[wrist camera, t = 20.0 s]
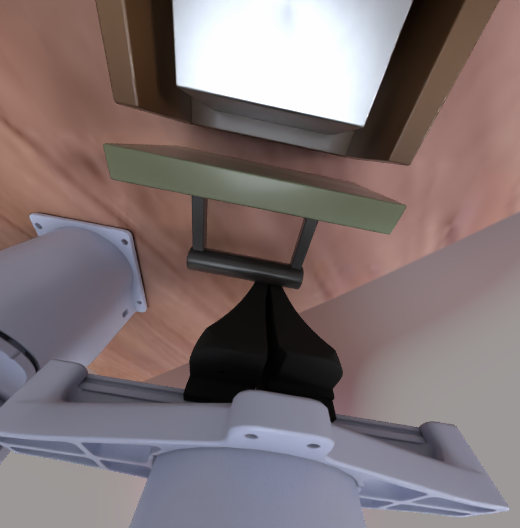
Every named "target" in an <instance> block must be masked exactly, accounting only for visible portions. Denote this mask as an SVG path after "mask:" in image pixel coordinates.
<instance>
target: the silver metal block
mask: <svg viewBox="0 0 520 528" xmlns="http://www.w3.org/2000/svg"><path fill="white" fill-rule="evenodd" d="M412 2H413V0H172V17H173V38H174V58H175V78H176V86H177V87H178V88H179V89H181V90H182V91H184V92H185V93H187V94H189V95H190V96H192V97H193V98H195V99H196V100H198V101H200V102H201V103H203V104H204V105H206V106H207V107H209V108H211V109H213V110H217V111H222V112H226V113H231V114H236V115H240V116H245V117H249V118H254V119H259V120H263V121H268V122H272V123H277V124H282V125H286V126H291V127H295V128H300V129H305V130H309V131H314V132H319V133H323V134H328V135H335V134H340V133H344V132H348V131H352V130H356V129H360V128H363V127H364V126H365V123H366V121H367V118H368V116H369V113H370V110H371V108H372V105H373V103H374V100H375V98H376V95H377V92H378V90H379V87H380V85H381V82H382V79H383V77H384V74H385V72H386V69H387V67H388V64H389V61H390V59H391V56H392V54H393V51H394V49H395V46H396V43H397V41H398V38H399V36H400V33H401V31H402V28H403V25H404V23H405V20H406V18H407V15H408V12H409V10H410V7H411V5H412Z"/></svg>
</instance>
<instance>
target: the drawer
mask: <svg viewBox="0 0 520 528" xmlns="http://www.w3.org/2000/svg"><path fill="white" fill-rule="evenodd" d="M95 1H96V6H97V12H98V17H99V22H100V28H101V33H102V38H103V44H104V49H105V54H106V60H107V65H108V70H109V76H110V81H111V86H112V92H113V97H114V101H115V102H116V103H117V104H120V105H124V106H127V107H131V108H134V109H138V110H141V111H144V112H148V113H151V114H155V115H158V116H162V117H165V118H169V119H172V120H175V121H179V122H182V123H187V124H191V125H196V126H201V127H205V128H210V129H215V130H219V131H224V132H229V133H234V134H238V135H243V136H248V137H252V138H257V139H262V140H266V141H271V142H276V143H281V144H285V145H290V146H295V147H299V148H304V149H309V150H313V151H318V152H323V153H328V154H332V155H337V156H342V157H346V158H351V159H358V160H366V161H374V162H382V163H390V164H398V165H406V166H409V165H410V164H411V162H412V160H413V159H414V157H415V155H416V153H417V151H418V149H419V147H420V146H421V144H422V142H423V140H424V138H425V136H426V135H427V133H428V131H429V129H430V127H431V125H432V124H433V122H434V120H435V118H436V116H437V114H438V113H439V111H440V109H441V107H442V105H443V103H444V102H445V100H446V98H447V96H448V94H449V92H450V91H451V89H452V87H453V85H454V83H455V81H456V79H457V78H458V76H459V74H460V72H461V70H462V68H463V67H464V65H465V63H466V61H467V59H468V57H469V56H470V54H471V52H472V50H473V48H474V46H475V45H476V43H477V41H478V39H479V37H480V35H481V34H482V32H483V30H484V28H485V26H486V24H487V23H488V21H489V19H490V17H491V15H492V13H493V11H494V10H495V8H496V6H497V4H498V2H499V0H413V2H412V5H411V7H410V10H409V12H408V15H407V18H406V20H405V23H404V25H403V28H402V31H401V33H400V36H399V38H398V41H397V43H396V46H395V49H394V51H393V54H392V56H391V59H390V61H389V64H388V67H387V69H386V72H385V74H384V77H383V79H382V82H381V85H380V87H379V90H378V92H377V95H376V98H375V100H374V103H373V105H372V108H371V110H370V113H369V116H368V118H367V121H366V123H365V126H364V127H363V128H360V129H356V130H352V131H348V132H344V133H340V134H335V135H328V134H323V133H319V132H314V131H309V130H305V129H300V128H295V127H291V126H286V125H282V124H277V123H272V122H268V121H263V120H259V119H254V118H249V117H245V116H240V115H236V114H231V113H226V112H222V111H217V110H213V109H211V108H209V107H207V106H206V105H204V104H203V103H201V102H200V101H198V100H196V99H195V98H193V97H192V96H190V95H189V94H187V93H185V92H184V91H182V90H181V89H179V88H178V87H177V86H176V78H175V58H174V38H173V17H172V0H95ZM103 147H104V151H105V155H106V160H107V164H108V168H109V172H110V177H111V179H113V180H117V181H122V182H127V183H132V184H137V185H142V186H147V187H152V188H158V189H163V190H168V191H173V192H178V193H183V194H188V195H192V235H193V246H192V247H191V248H190V250H189V253H188V256H187V267H188V269H190V270H196V271H201V272H206V273H212V274H217V275H223V276H228V277H234V278H239V279H244V280H250V281H255V282H261V283H266V284H271V285H277V286H282V287H288V288H293V289H299V288H300V286H301V284H302V281H303V274H304V271H303V267H302V265H303V262H304V259H305V256H306V254H307V251H308V248H309V245H310V242H311V240H312V237H313V234H314V231H315V228H316V226H317V223H318V221H323V222H328V223H333V224H338V225H343V226H349V227H354V228H359V229H364V230H369V231H374V232H379V233H384V234H390V233H391V232H392V230H393V229H394V227H395V225H396V224H397V222H398V220H399V219H400V217H401V215H402V214H403V212H404V210H405V209H406V205H404V204H402V203H399V202H397V201H395V200H392V199H390V198H388V197H385V196H383V195H381V194H378V193H376V192H374V191H371V190H369V189H367V188H364V187H362V186H360V185H357V184H355V183H353V182H348V181H343V180H339V179H334V178H329V177H324V176H319V175H315V174H310V173H305V172H300V171H295V170H291V169H286V168H281V167H276V166H271V165H267V164H262V163H257V162H252V161H247V160H242V159H238V158H233V157H228V156H223V155H218V154H214V153H209V152H204V151H199V150H194V149H190V148H185V147H180V146H168V145H140V144H112V143H105V144H103ZM208 199H213V200H218V201H223V202H228V203H233V204H238V205H243V206H248V207H253V208H258V209H263V210H268V211H273V212H278V213H283V214H288V215H293V216H298V217H303V218H304V220H303V223H302V226H301V229H300V232H299V236H298V239H297V242H296V245H295V248H294V252H293V255H292V258H291V261H290V264H288V263H283V262H278V261H272V260H267V259H262V258H257V257H251V256H246V255H241V254H235V253H230V252H225V251H220V250H214V249H209V248H206V244H207V203H208Z"/></svg>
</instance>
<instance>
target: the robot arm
mask: <svg viewBox="0 0 520 528" xmlns="http://www.w3.org/2000/svg"><path fill="white" fill-rule="evenodd" d="M29 217H30V220H31V222H32V224H33V226H34V228H35V230H36V232H37V234H38V237H36V238H33V239H30V240H28V241H25V242H22V243H19V244H17V245H14V246H11V247H9V248H6V249H3V250H0V464H1V463H2V461H3V460H4V459H5V457H6V456H7V455H8V454H9V452H10V451H13V452H15V453H18V454H25V455H31V456H38V457H44V458H50V459H55V460H61V461H66V462H71V463H76V464H81V465H85V466H91V467H95V468H100V469H105V470H109V471H114V472H119V473H124V474H129V475H133V476H138V477H142V478H147V482H146V485H145V487H144V490H143V493H142V495H141V498H140V500H139V503H138V506H137V508H136V511H135V513H134V516H133V518H132V521H131V524H130V526H129V528H366V524H365V520H364V516H363V511H362V508H372V509H385V510H397V511H408V512H419V513H428V514H437V515H444V516H452V517H467V516H474V515H482V514H490V513H496V512H504V511H509V509H510V508H509V506H508V504H507V503H506V501H505V500H504V498H503V497H502V495H501V494H500V492H499V491H498V489H497V488H496V486H495V485H494V483H493V481H492V480H491V478H490V477H489V476H488V474H487V472H486V471H485V469H484V468H483V466H482V465H481V463H480V462H479V460H478V459H477V457H476V456H475V454H474V453H473V451H472V449H471V448H470V446H469V445H468V443H467V442H466V440H465V439H464V437H463V436H462V434H461V433H460V431H459V430H458V428H457V427H456V426H455V425H452V424H446V423H440V422H426V423H424V424H422V425H421V426H420V427H419V428H418V427H413V426H406V425H400V424H394V423H388V422H382V421H376V420H370V419H363V418H357V417H351V416H345V415H339V414H335V410H334V405H333V401H332V400H333V399H334V393H333V388H334V387H335V385H336V384H337V383H338V382H339V380H340V379H341V377H342V375H343V370H342V367H341V364H340V361H339V358H338V356H337V353H336V351H335V350H334V349H333V348H332V347H331V346H330V345H328V344H327V343H326V342H325V341H324V340H322V339H321V338H320V337H319V336H318V335H317V334H316V333H315V332H314V331H313V330H312V329H311V328H310V327H309V326H308V325H307V324H306V323H305V322H304V320H303V319H302V318H301V317H300V316H299V314H298V313H297V312H296V310H295V309H294V307H293V306H292V304H291V302H290V301H289V299H288V297H287V295H286V294H285V292H284V290H283V288H282V286H277V285H271V284H266V283H261V282H255V283H254V284H253V286H252V288H251V289H250V291H249V292H248V293H247V295H246V296H245V297H244V298H243V299H242V301H241V302H240V303H239V304H238V305H237V306H236V307H235V308H234V309H232V310H231V311H230V312H229V313H228V314H226V315H225V316H224V317H223V318H221V319H220V320H218V321H217V322H215V323H214V324H212V325H211V326H209V327H207V328H206V329H205V331H204V332H203V333H202V335H201V336H200V338H199V339H198V341H197V343H196V345H195V347H194V349H193V351H192V354H191V356H190V361H189V362H190V377H189V380H188V382H187V385H186V388H185V389H179V388H174V387H168V386H161V385H155V384H149V383H143V382H137V381H131V380H125V379H119V378H112V377H106V376H100V375H94V374H88V371H87V369H86V367H87V366H88V365H89V364H90V363H92V362H93V361H94V359H95V358H96V357H97V356H98V355H99V354H100V353H101V351H102V350H103V349H104V348H105V347H106V346H107V344H108V343H109V342H110V341H111V340H112V339H113V337H114V336H115V335H116V334H117V333H118V332H119V330H120V329H121V328H122V327H123V326H124V325H125V323H126V322H127V321H128V320H129V319H130V318H131V316H132V315H133V314H134V313H135V312H136V311H138V312H145V311H146V310H147V304H146V299H145V294H144V289H143V285H142V280H141V275H140V270H139V266H138V261H137V256H136V251H135V247H134V242H133V237H132V234H131V233H130V232H129V231H128V230H125V229H120V228H115V227H110V226H104V225H99V224H94V223H89V222H83V221H78V220H73V219H67V218H62V217H57V216H52V215H46V214H41V213H33V214H30V216H29ZM125 240H126V241H127V242H128V243H127V242H126V241H125ZM255 389H256V390H255Z"/></svg>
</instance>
